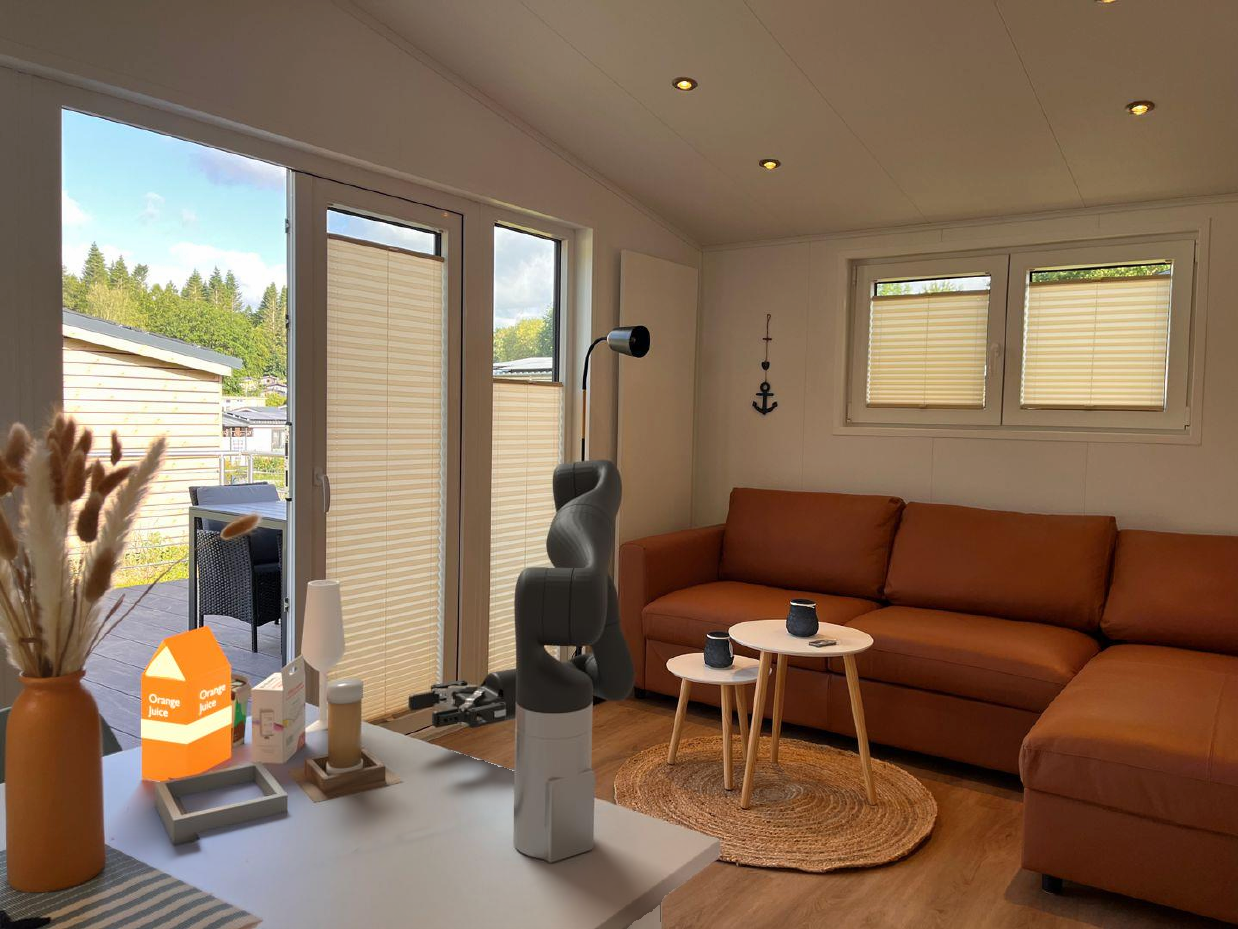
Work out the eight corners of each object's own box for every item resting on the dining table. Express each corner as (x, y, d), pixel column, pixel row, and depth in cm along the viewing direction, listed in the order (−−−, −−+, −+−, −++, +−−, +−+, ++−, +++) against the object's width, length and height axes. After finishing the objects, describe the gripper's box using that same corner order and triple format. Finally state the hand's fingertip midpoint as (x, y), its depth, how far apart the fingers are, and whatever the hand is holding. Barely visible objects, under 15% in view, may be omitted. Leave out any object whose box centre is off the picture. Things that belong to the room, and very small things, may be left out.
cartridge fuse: (367, 778, 123) (368, 685, 122) (333, 786, 120) (333, 691, 119) (355, 767, 127) (356, 676, 126) (321, 774, 124) (321, 682, 123)
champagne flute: (293, 737, 140) (294, 586, 139) (310, 723, 147) (311, 578, 146) (336, 739, 140) (336, 587, 139) (350, 724, 147) (351, 579, 146)
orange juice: (232, 763, 130) (232, 627, 129) (187, 787, 121) (186, 641, 120) (187, 757, 132) (186, 622, 131) (140, 780, 123) (139, 636, 122)
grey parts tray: (287, 818, 113) (287, 795, 112) (173, 845, 105) (173, 820, 105) (260, 782, 123) (260, 761, 123) (155, 805, 116) (155, 782, 115)
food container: (271, 742, 138) (271, 678, 138) (239, 756, 132) (239, 689, 132) (212, 729, 143) (212, 668, 143) (179, 742, 138) (179, 678, 137)
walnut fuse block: (403, 789, 122) (403, 767, 122) (314, 810, 115) (314, 787, 115) (371, 760, 132) (371, 740, 132) (287, 778, 125) (287, 757, 125)
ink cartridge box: (274, 747, 136) (274, 652, 135) (306, 748, 136) (306, 653, 135) (249, 769, 128) (249, 668, 127) (284, 770, 128) (284, 669, 127)
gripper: (497, 658, 145) (401, 673, 135) (542, 680, 133) (442, 699, 124) (496, 703, 145) (401, 722, 136) (542, 730, 134) (441, 752, 124)
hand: (421, 711), depth 130 cm, fingers open, 8 cm apart
